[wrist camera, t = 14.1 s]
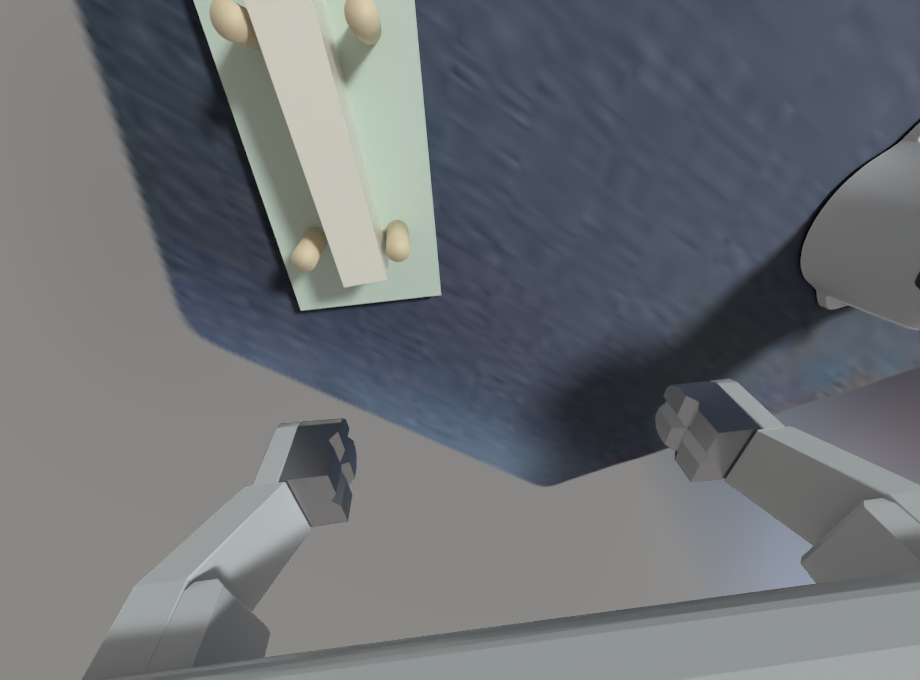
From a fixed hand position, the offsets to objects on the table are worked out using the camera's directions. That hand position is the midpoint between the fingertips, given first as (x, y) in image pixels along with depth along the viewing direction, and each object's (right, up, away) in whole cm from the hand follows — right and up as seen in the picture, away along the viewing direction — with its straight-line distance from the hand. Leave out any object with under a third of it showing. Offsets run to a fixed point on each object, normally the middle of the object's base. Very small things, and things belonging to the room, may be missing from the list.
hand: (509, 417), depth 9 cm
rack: (-10, +16, +16) cm, 25 cm away
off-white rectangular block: (-10, +15, +15) cm, 23 cm away
